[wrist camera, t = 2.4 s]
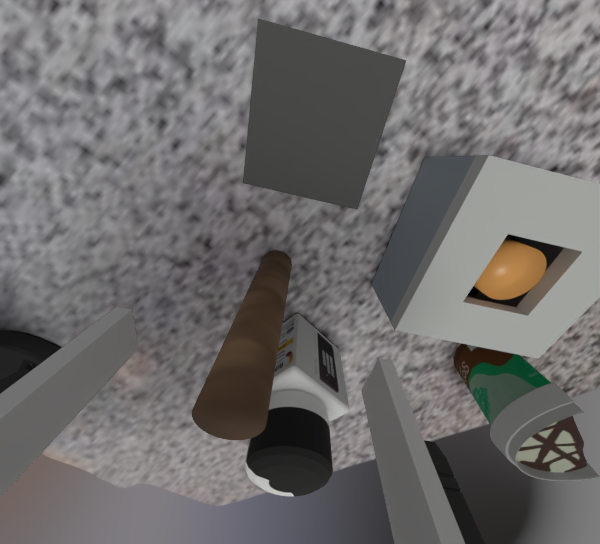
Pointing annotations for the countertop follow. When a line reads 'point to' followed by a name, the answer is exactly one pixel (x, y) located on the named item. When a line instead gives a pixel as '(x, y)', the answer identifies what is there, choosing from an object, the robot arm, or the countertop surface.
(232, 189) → the countertop surface
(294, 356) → the container
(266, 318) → the stylus
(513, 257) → the button
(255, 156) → the pad
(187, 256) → the countertop surface
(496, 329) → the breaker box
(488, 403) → the food container
